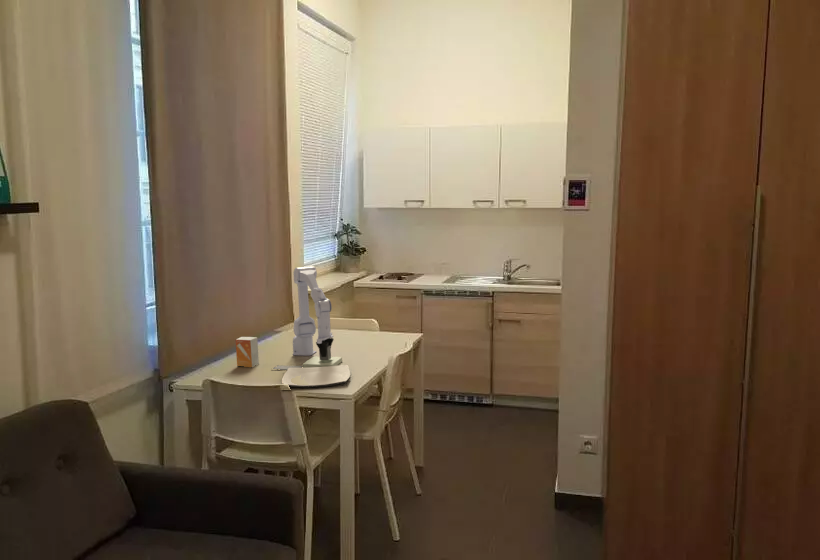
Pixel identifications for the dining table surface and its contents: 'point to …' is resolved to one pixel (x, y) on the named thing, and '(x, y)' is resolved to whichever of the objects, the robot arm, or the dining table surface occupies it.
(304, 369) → the plate
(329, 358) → the charger
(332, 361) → the outlet board
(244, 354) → the small box
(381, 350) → the dining table surface
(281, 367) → the phone
